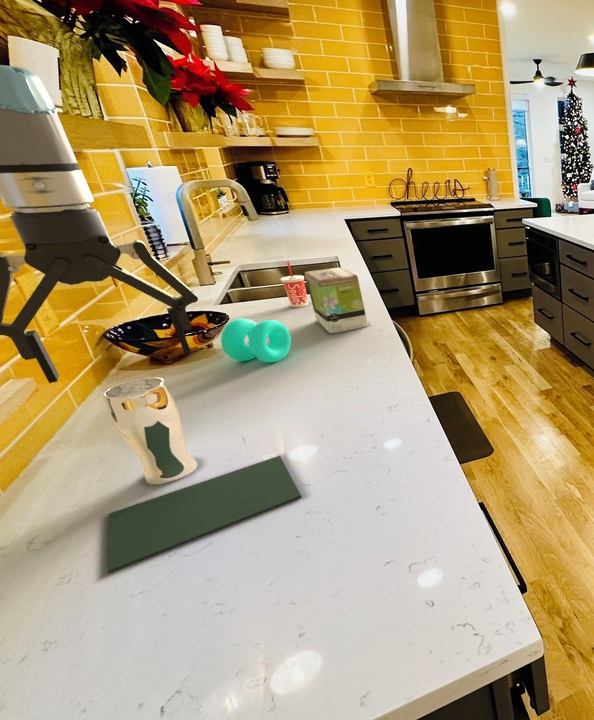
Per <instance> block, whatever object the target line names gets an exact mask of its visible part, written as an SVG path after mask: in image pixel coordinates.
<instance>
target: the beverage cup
mask: <svg viewBox="0 0 594 720" xmlns="http://www.w3.org/2000/svg"><path fill="white" fill-rule="evenodd" d="M286 264H287V267H288V271H289V274H290V275H288V276H284V277H281V278H280V282H281V283H282V284H283V287H284V290H285V292H286V296H287V298H288V301H289V303H290V306H291V308H302V307H306V306H308V305H309V299H308V296H307V295H308V293H307V290H306V285H305V275H300V274H298V275H297V274H296V275H293V272H292V268H291V265H290V262H289V261H286Z"/></svg>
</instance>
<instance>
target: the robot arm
mask: <svg viewBox="0 0 594 720" xmlns="http://www.w3.org/2000/svg"><path fill="white" fill-rule="evenodd" d="M0 200H1V202H2V204H3V206H4V207H5V208H8V209H13V212H12V213H11V215H9V218H10V220H11V223H12V224H13V226H14V228H15V230H16V233H17V235H18V236H19V239H20V240H21V242H22V244H23V246H24V250H25V251H24V254H5V253H3V252H0V336H4V337H8V338H10V339H11V341H12V342H13V344H14V346H15V348H16V350H17V351H18V353H19V355H20V357H21V358H22V359H24V360H25V361H29V360H36V361H37V363H38V365H39V367H40V369H41V372H43V374H44V376H45V379H46V380H47V382H48V383H49V384H52V383H57V382H59V378H60V374H59V372H58V370H57V368H56V366H55V364H54V362H53V360H52V359H51V357H50V355H49V352H48V351H47V349H46V347H45V345H44V343H43V341H42V339H41V337H40V335H39V333H38V332H37V329H32V330H27V328H28V326H30V323H31V322H32V321H33V319H34V318H35V316H36V314H38V312H39V311H40V309H41V307H42V306H43V305H44V303H45V301H46V300H47V298H48V297H49V295H50V294H51V292H52V291H53V290H54V289H55V286H56V285H57V284H58V283H61V284H65V285H69V286H73V285H74V286H75V285H79V284H82V283H85V282H90V283H91V282H93V283H97V282H103V281H105V280H106V279H108V278H110V277H112V278H113V279H115V280H117V281H119V282H120V283H121V282H122V283H124V284H126V285H128V286H129V287H132V288H134V289H135V290H138V291H139V292H141V293H143V294H145V295H147V296H149V297H151V298H153V299H155V300H156V301H158V302H161V303H163V304H164V305H166V306H168V307H167V308H166V310H167V314H168V316H169V319H170V321H171V323H172V326H173V328H174V332H175V333H176V336H177V338H178V341H179V343H180V346H181V348H182V351H183V353H184V355H190V354H192V350H191V348H190V345H189V343H188V341H187V338H186V335H185V333H184V331H189V330H192V323H191V320H190V318H189V315H188V313H187V310H186V309H187V307H188V306H189V305H191V304H194V303H197V302H198V301H199V298H198V296H197V294H196V293H195V291H193V290H192V289H190V287H189V286H187V285H186V284H185V283H184V282H182V280H180V279H179V278H178V277H177V276H176V275H175V274H174V273H173V272H171V271H170V270H169V269H168V268H167V267H166V266H164V265H163V264H162V263H161V262H160V261H159V260H158V259H156V258H155V257H154V256H153V255H152V254H151V252H150V251H149V249H148V247H147V245H146V243H145V242H144V241H143V240H140V239H135V240H134V241H133V242H129V243H124V244H118V245H117V244H115V243H114V242H113V240H112V239H111V237H110V236H109V235H110V234H109V233H108V230H107V228H106V226H105V223H104V221H103V219H102V217H101V214H100V212H99V210H98V209H96V208H95V207H91V206H90V205H91V204H92V203H93V202H94V201H95V199H94V197H93V195H92V192H91V190H90V188H89V186H88V183H87V181H86V178H85V177H84V174H83V171H82V170H81V168H80V166H79V164H78V161H77V159H76V156H75V154H74V151H73V148H72V146H71V143H70V141H69V139H68V137H67V134H66V131H65V129H64V127H63V125H62V122H61V120H60V118H59V114H58V108H57V107H56V106H55V105H54V102H53V100H52V98H51V97H50V94H49V93H48V91H47V89H46V88H45V85H44V84H43V82H42V79H41V78H40V77H39V76H38V75H37V74H36V73H34V72H33V71H31V70H29V69H27V68H23V67H18V66H12V65H4V64H0ZM122 254H126V255H128V256H129V257H130V258H131V259H133V260H140V261H141V262H142V264H144V265H145V267H147V268H148V269H149V270H151V271H152V272H153V273H154V274H156V275H157V276H158V277H159V278H160V279H161V280H162V281H164V282H165V283H166V284H167V285H168V286H170V287H171V288H172V289H173V290H174V291H176V292H177V293H178V294H179V295H180V296H178V297H176V296H175V295H173V294H172V293H169V292H167V291H165V290H164V289H162V288H160V287H159V286H156V285H155V284H152V283H151V282H149V281H147V280H145V279H143V278H141V277H140V276H137V275H136V274H134V273H132V272H130V271H129V270H127V269H126V268H125V267H121V266H120V265H118V264H117V263H118V261H119V260H120V258H121V255H122ZM26 264H27V265H28V266H30V267H31V268H33V269H35V270H37V271H38V272H41V273H42V274H43V275H44V276H43V277H42V278H41V280H40V281H39V283H38V284H37V286H36V287H35V289H34V290H33V292H32V293H31V295H30V296H29V297H28V299H27V301H26V302H25V303H24V305H23V307H22V308H21V309H20V310H19V312H18V314H17V315H16V316H15V318H14V319H13V321H12V322H11V323H8V322H7V323H6V322H3V320H4V316H5V311H6V308H7V307H6V306H7V303H8V298H9V295H10V294H9V293H10V289H11V285H12V280H13V274H16V273H18V272H19V271H20V270H21V268H22V267H21V266H22V265H26Z"/></svg>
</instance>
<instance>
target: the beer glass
mask: <svg viewBox="0 0 594 720" xmlns="http://www.w3.org/2000/svg"><path fill="white" fill-rule="evenodd" d="M101 396H102V398H103V400H104V403H105V407H106V410H107V412H108V415H109V417H110V419H111V422H112V424H113V425H114V427H115V429H116V431H117V432H118V433H119V435H120V436H121V438H122V439H123V440H124V441H125V442H126V444H127V445H128V446H129V447H130V448H131V450H132V451H133V452H134V453H135V455H136V456H137V457H138V459H139V461H140V463H141V465H142V469H143V473H144V479H145V482H146V483H147V484H149V485H163V484H167V483H171V482H175V481H177V480H180V479H183V478H184V477H186V476H188V475H190V474H192V472H194V471H195V470H196V469H197V467H198V463H197V461H196V459H195V458H194V457H193V456H192V454H191V452H190V451H189V450H188V448H187V446H186V442H185V437H184V431H183V426H182V419H181V415H180V411H179V408H178V406H177V403H176V401H175V399H174V397H173V395H172V392H171V391H170V390H169V388H168V386H167V384H166V382H165V380H164V379H163V378H162V377H158V376H157V377H152V376H151V377H142V378H136V379H132V380H128V381H127V380H126V381H125V382H120V383H117V384H115V385H113V386H110V387H109V388H107V389H105V390H104V391H103V392H102V393H101Z"/></svg>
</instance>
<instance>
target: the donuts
mask: <svg viewBox="0 0 594 720" xmlns="http://www.w3.org/2000/svg"><path fill="white" fill-rule="evenodd" d="M246 336H247V338H248V339H247V340H248V341H247V344H246V341H245V340H246V339H245V338H246ZM268 339H269V343H268V342H267V340H268ZM220 343H221V348H222V350H223V352H224V353H225V354H226V355H227V356H228V357H229V358H230V359H232V360H235V361H238V362H249V361H252V360H254V359H255V358H256V359H258V360H259V361H260V362H261V361H262V362H264V363H271V364H273V363H277V362H279V361H282V360H283V359H284V358H285V357H286V355H288V353H289V351H290V348H291V344H292V337H291V333H290V331H289V329H288V328H287V326H286V325H285V324H284V323H282V322H281V321H278V320H276V319H265V320H261V321H259V322H258V323H257V322H256V321H253V320H252V319H248V318H237V319H233V320H231V321H229V323H227V325H226V326H225V327H224V328H223V330H222V332H221V337H220ZM267 343H268V344H267Z"/></svg>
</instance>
